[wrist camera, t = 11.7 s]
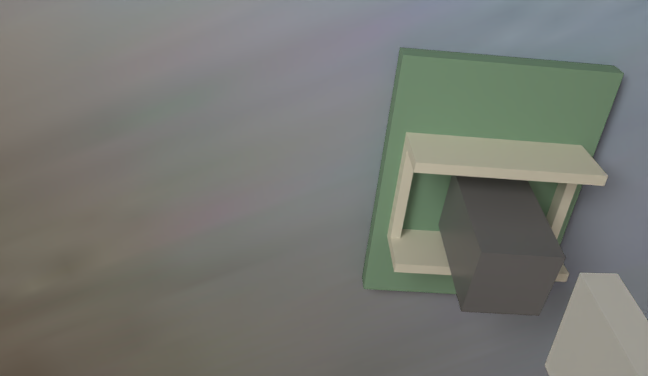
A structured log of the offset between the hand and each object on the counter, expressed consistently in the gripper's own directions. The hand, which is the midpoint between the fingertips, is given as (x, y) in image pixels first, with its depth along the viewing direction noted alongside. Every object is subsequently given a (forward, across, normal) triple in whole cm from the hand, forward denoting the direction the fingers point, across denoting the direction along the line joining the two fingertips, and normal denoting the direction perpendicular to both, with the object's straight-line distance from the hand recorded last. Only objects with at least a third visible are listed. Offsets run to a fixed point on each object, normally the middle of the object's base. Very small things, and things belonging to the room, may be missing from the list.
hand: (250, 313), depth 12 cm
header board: (+22, +12, -11) cm, 27 cm away
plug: (+20, +12, -11) cm, 26 cm away
